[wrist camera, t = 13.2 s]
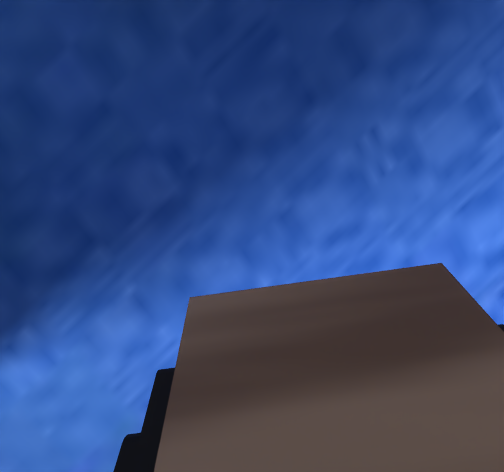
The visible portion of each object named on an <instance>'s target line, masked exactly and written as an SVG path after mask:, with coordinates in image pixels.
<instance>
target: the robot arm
mask: <svg viewBox="0 0 504 472" xmlns="http://www.w3.org/2000/svg"><path fill="white" fill-rule="evenodd" d="M498 326H499V327H500V328H501V329H502V331H503V332H504V325H503V324H500V325H498ZM174 372H175V368H169V369H161V370H158V371H157V373H156V377H155V381H154V385H153V389H152V392H151V396H150V400H149V404H148V408H147V412H146V415H145V419H144V423H143V427H142V431H141V433H136V434H128V435H127V436H126V437H125V438H124V440H123V443H122V445H121V449H120V452H119V455H118V459H117V462H116V465H115V469H114V472H154V469H155V464H156V459H157V454H158V450H159V445H160V440H161V435H162V430H163V425H164V420H165V415H166V411H167V406H168V401H169V396H170V391H171V386H172V381H173V377H174Z"/></svg>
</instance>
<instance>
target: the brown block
mask: <svg viewBox="0 0 504 472" xmlns="http://www.w3.org/2000/svg"><path fill="white" fill-rule="evenodd" d="M154 472H504V332H503V331H502V329H501V328H500V327H499V326H498V325H497V324H496V323H495V322H494V321H493V320H492V318H491V317H490V316H489V315H488V314H487V313H486V312H485V311H484V310H483V308H482V307H481V306H480V305H479V304H478V303H477V302H476V301H475V300H474V298H473V297H472V296H471V295H470V294H469V293H468V292H467V291H466V290H465V288H464V287H463V286H462V285H461V284H460V283H459V282H458V281H457V280H456V278H455V277H454V276H453V275H452V274H451V273H450V272H449V271H448V270H447V268H446V267H445V266H444V265H443V264H442V263H438V264H430V265H423V266H416V267H409V268H401V269H394V270H387V271H379V272H372V273H365V274H357V275H350V276H343V277H336V278H328V279H321V280H314V281H306V282H299V283H292V284H285V285H277V286H270V287H263V288H255V289H248V290H241V291H233V292H226V293H219V294H212V295H204V296H197V297H190V299H189V304H188V308H187V313H186V318H185V323H184V328H183V333H182V338H181V342H180V347H179V352H178V357H177V362H176V367H175V372H174V377H173V381H172V386H171V391H170V396H169V401H168V406H167V411H166V415H165V420H164V425H163V430H162V435H161V440H160V445H159V450H158V454H157V459H156V464H155V469H154Z"/></svg>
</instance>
